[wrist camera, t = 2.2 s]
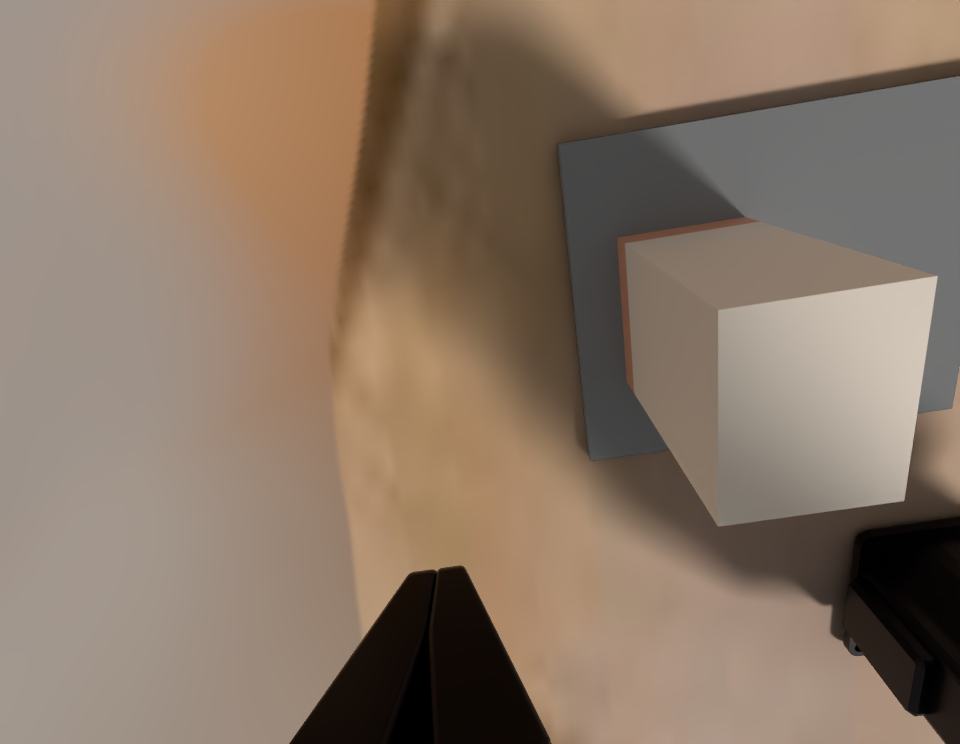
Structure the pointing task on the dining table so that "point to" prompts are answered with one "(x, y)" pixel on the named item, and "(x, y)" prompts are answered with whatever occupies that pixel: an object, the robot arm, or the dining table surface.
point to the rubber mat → (766, 216)
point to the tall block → (776, 365)
